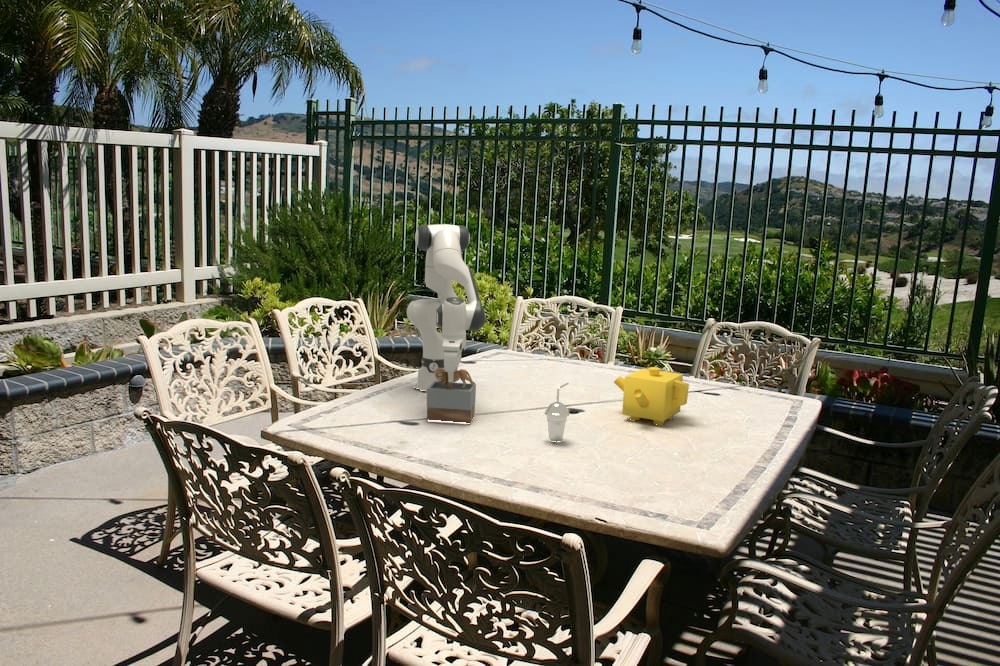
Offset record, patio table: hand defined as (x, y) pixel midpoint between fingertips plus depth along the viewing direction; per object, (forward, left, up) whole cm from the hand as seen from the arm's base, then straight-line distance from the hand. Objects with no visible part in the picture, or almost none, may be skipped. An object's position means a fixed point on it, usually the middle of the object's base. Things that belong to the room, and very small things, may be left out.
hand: (452, 379), depth 298 cm
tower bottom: (0, 0, -16) cm, 16 cm away
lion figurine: (+2, +2, -3) cm, 4 cm away
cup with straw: (+20, +39, -15) cm, 46 cm away
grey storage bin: (+1, 0, -10) cm, 10 cm away
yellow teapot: (-17, +74, -15) cm, 77 cm away
